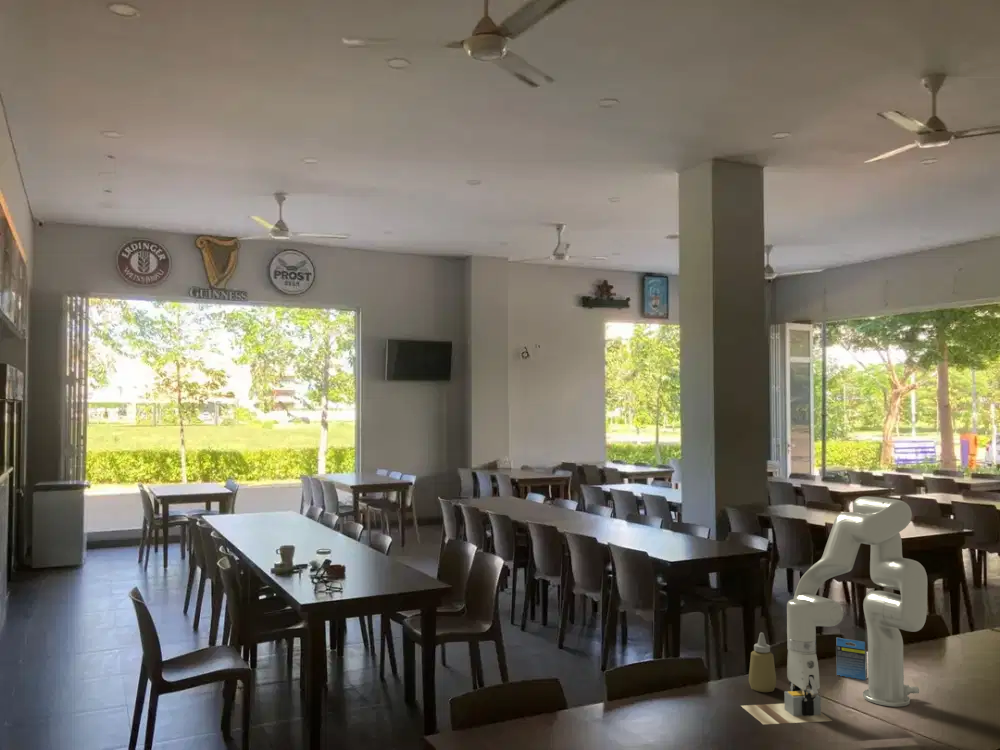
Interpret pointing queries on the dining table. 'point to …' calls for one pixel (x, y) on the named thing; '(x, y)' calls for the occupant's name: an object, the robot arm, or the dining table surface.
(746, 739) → the dining table surface
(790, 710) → the grey block
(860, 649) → the label tape box
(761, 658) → the squeeze bottle
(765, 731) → the dining table surface
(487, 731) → the dining table surface
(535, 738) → the dining table surface
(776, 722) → the board
